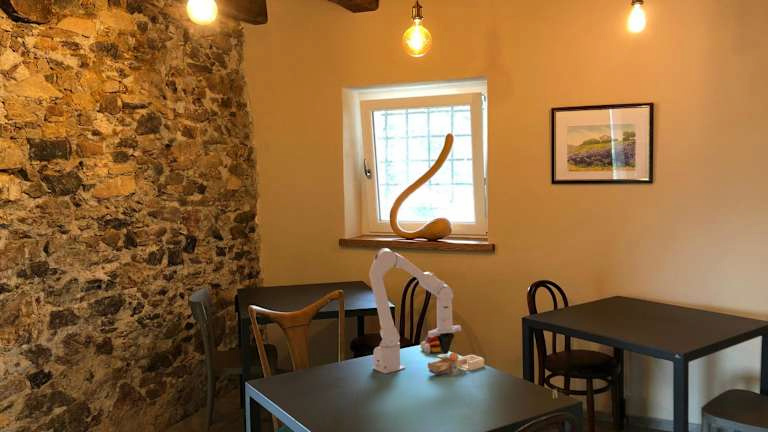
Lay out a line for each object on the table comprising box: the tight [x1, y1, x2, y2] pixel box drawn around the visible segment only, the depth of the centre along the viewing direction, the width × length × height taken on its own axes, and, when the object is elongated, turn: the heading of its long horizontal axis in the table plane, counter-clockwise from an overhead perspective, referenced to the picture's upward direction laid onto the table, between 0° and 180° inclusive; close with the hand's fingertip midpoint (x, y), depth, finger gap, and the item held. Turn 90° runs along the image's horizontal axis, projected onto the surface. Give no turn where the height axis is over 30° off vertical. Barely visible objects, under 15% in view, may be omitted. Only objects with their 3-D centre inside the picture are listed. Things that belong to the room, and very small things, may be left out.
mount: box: [440, 359, 462, 378], centre depth 221 cm, size 5×9×4 cm, turn 35°
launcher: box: [427, 353, 467, 376], centre depth 224 cm, size 14×12×3 cm
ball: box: [449, 352, 459, 361], centre depth 223 cm, size 3×3×3 cm
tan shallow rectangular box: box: [457, 354, 485, 372], centre depth 227 cm, size 9×6×3 cm
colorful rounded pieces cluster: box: [420, 335, 443, 355], centre depth 248 cm, size 8×10×7 cm
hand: (445, 353), depth 230 cm, fingers closed
